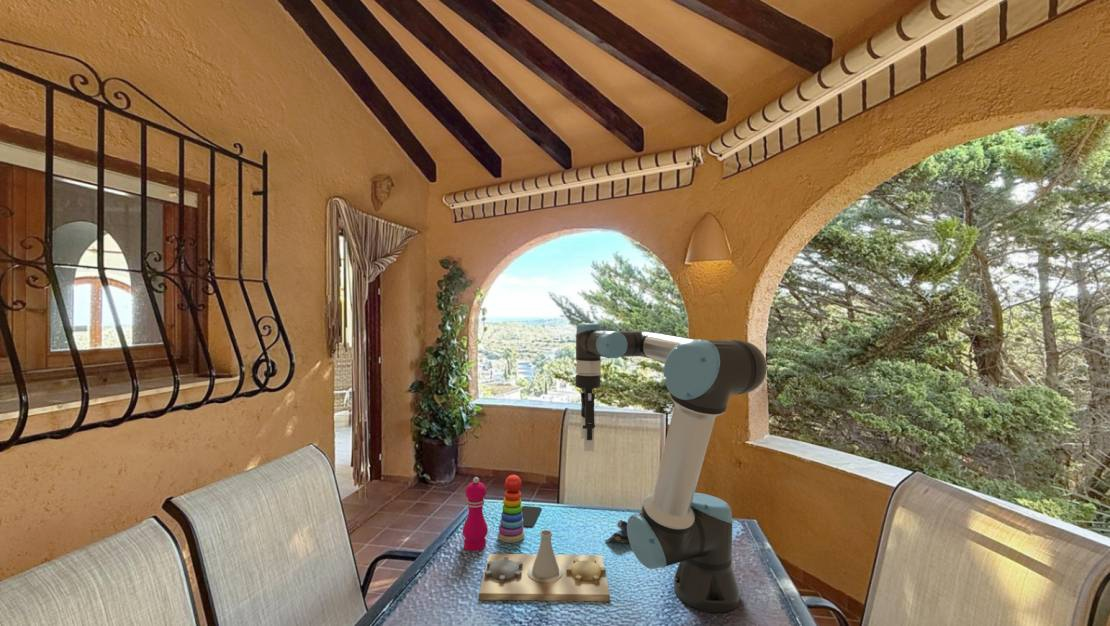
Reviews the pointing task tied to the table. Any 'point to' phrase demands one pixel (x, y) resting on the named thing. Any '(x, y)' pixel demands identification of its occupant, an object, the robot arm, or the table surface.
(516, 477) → the stacking toy
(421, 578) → the table surface
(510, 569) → the gear board
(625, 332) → the robot arm
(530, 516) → the phone
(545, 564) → the flask
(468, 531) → the pepper mill
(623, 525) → the snack package
